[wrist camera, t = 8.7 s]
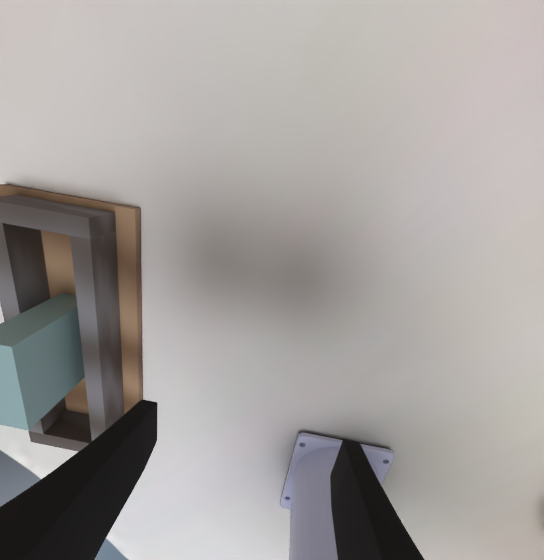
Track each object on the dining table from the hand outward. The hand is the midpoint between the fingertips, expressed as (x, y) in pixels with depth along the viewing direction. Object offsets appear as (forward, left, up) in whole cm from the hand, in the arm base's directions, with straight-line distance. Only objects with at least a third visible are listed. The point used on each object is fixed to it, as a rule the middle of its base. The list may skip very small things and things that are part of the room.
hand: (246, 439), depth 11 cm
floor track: (-4, +14, -10) cm, 18 cm away
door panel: (-4, +14, -9) cm, 17 cm away
